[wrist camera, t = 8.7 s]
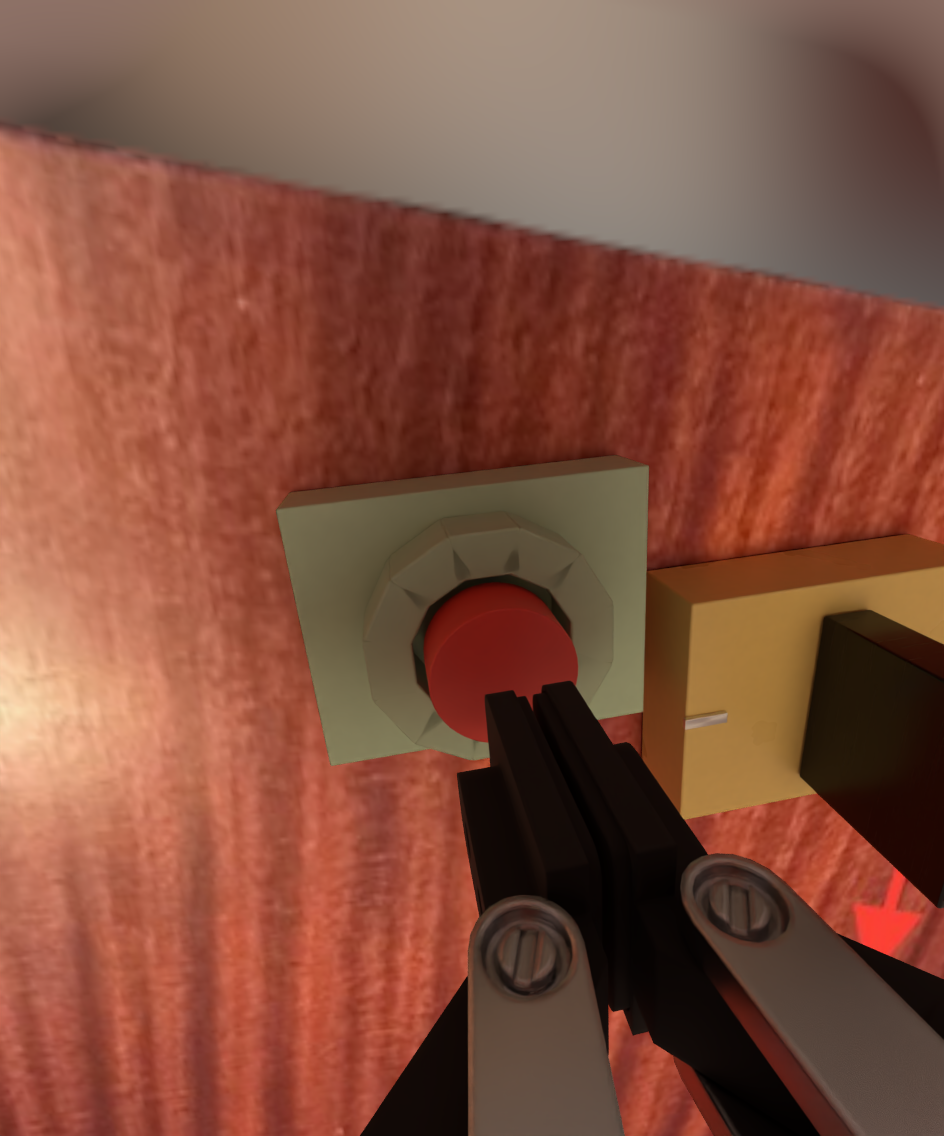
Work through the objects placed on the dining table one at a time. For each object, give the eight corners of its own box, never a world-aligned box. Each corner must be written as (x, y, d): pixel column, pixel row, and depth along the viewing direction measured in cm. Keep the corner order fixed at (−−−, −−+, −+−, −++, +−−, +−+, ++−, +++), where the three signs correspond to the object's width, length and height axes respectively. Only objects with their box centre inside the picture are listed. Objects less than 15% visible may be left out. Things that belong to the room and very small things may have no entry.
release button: (554, 572, 14) (577, 597, 12) (558, 692, 15) (580, 730, 14) (415, 591, 14) (419, 620, 12) (431, 714, 15) (437, 755, 13)
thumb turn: (822, 615, 17) (1009, 715, 12) (870, 608, 17) (1073, 703, 12) (797, 776, 19) (947, 919, 14) (840, 768, 19) (1003, 906, 14)
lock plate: (910, 532, 20) (1004, 560, 17) (874, 720, 22) (949, 771, 19) (642, 570, 19) (692, 607, 16) (638, 763, 21) (679, 825, 18)
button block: (617, 454, 17) (683, 475, 13) (616, 677, 20) (671, 747, 16) (288, 492, 16) (260, 526, 12) (335, 724, 19) (324, 811, 15)
